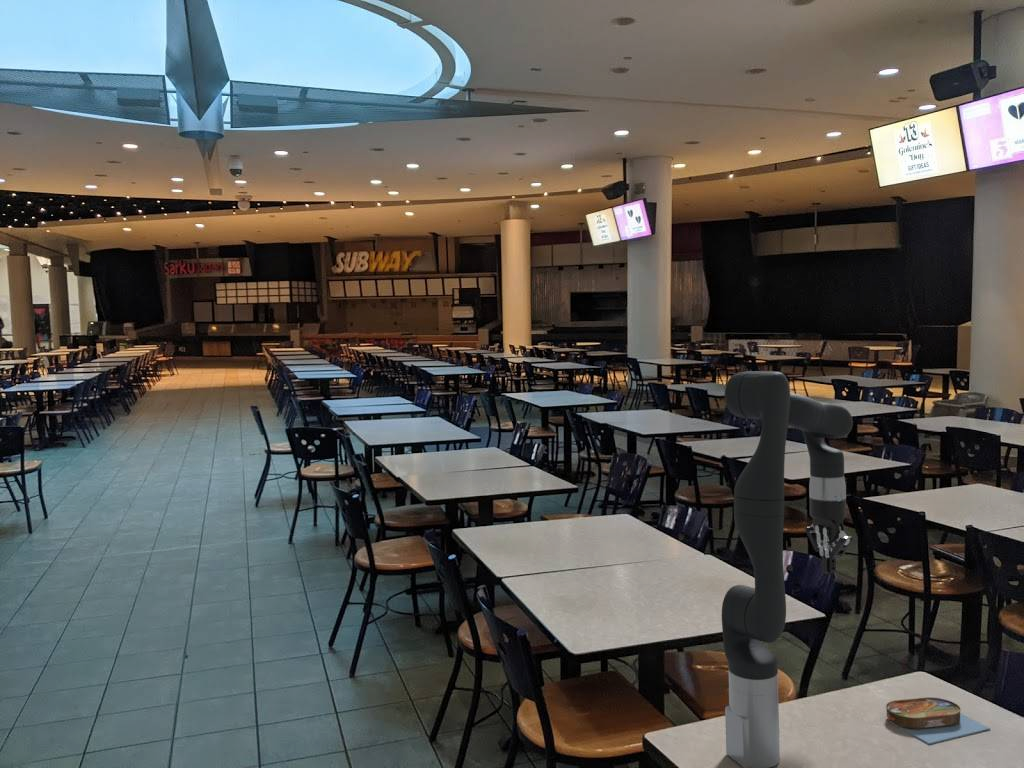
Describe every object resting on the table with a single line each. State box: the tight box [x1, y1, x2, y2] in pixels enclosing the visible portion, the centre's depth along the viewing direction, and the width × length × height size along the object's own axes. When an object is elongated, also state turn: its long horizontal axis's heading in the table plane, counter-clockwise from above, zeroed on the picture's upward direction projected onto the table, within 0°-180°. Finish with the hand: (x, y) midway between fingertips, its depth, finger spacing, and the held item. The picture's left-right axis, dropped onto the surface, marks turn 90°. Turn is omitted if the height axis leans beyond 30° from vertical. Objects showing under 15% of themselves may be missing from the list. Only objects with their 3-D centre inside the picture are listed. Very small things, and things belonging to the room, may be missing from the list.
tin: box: [885, 696, 961, 729], centre depth 167 cm, size 15×3×8 cm
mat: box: [889, 712, 991, 746], centre depth 164 cm, size 16×10×1 cm, turn 108°
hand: (829, 573), depth 176 cm, fingers closed
